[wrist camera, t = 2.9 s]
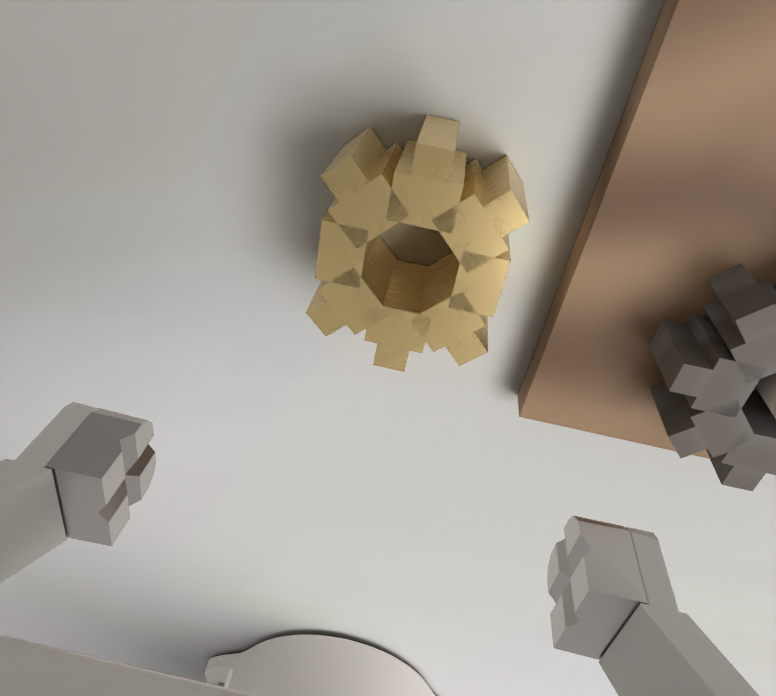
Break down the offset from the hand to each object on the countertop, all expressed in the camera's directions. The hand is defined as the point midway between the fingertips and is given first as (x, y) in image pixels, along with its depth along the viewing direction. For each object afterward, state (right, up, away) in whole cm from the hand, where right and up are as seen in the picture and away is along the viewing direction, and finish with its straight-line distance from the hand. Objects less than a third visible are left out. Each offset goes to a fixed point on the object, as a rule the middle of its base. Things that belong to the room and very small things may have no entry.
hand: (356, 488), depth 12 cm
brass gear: (+2, +8, +12) cm, 15 cm away
